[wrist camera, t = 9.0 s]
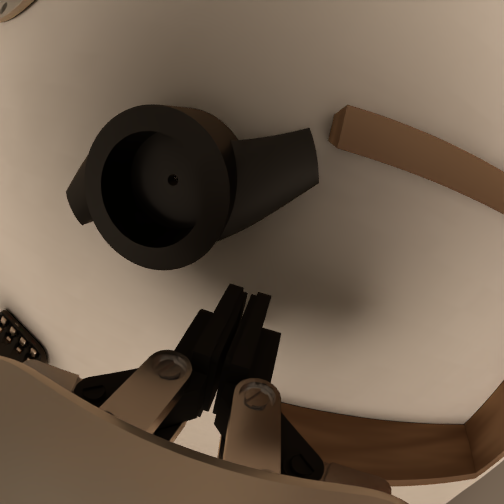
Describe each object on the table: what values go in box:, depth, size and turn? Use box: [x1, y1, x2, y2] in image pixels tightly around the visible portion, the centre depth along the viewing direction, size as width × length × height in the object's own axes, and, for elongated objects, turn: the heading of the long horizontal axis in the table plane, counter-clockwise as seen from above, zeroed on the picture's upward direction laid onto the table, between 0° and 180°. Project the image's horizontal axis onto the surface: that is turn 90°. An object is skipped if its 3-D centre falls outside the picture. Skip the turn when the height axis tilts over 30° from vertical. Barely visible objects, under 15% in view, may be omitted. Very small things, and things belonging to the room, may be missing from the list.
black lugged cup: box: [66, 105, 319, 270], centre depth 11 cm, size 8×10×3 cm
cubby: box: [281, 105, 504, 486], centre depth 10 cm, size 16×17×4 cm
